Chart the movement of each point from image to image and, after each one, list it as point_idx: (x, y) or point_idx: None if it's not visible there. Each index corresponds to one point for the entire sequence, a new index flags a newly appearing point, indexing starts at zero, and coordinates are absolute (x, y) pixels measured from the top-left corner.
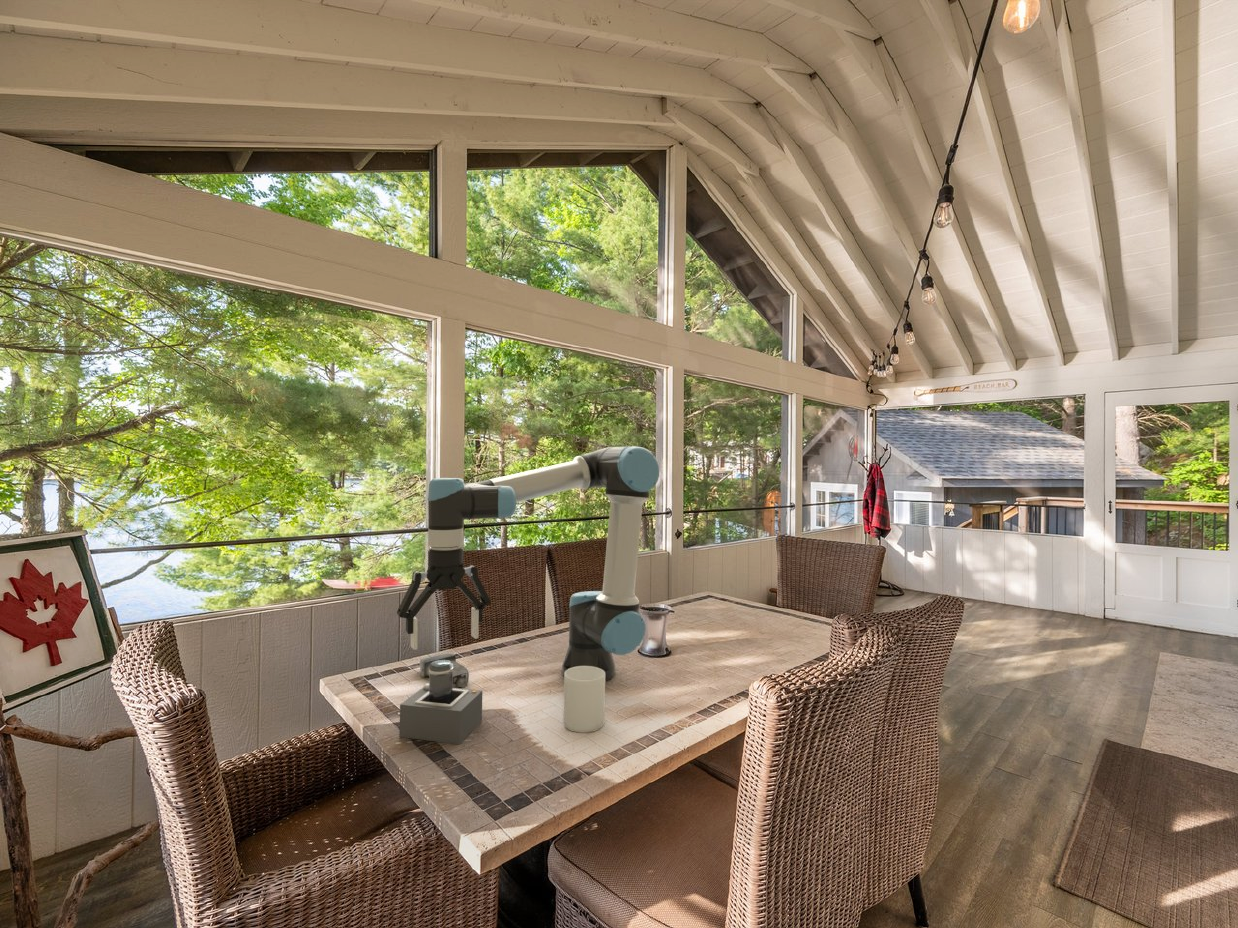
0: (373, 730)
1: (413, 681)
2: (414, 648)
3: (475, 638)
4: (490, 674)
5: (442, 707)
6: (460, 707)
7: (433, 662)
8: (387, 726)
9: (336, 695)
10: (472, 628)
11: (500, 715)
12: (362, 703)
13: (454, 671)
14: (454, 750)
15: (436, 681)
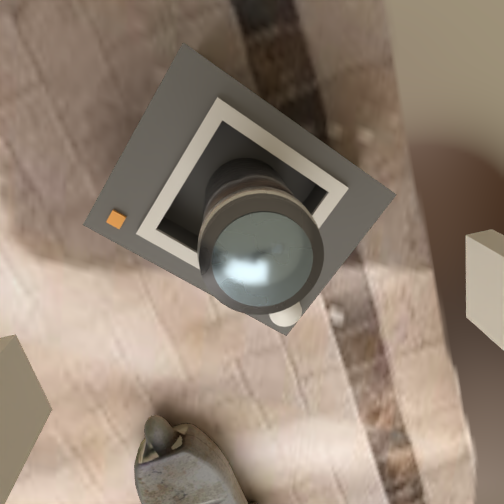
0: (416, 235)
1: (284, 484)
2: (493, 232)
3: (14, 335)
4: (72, 482)
5: (251, 110)
6: (181, 82)
7: (300, 283)
8: (379, 248)
9: (468, 451)
10: (13, 435)
11: (50, 214)
12: (419, 395)
13: (176, 480)
14: (212, 15)
15: (282, 187)
